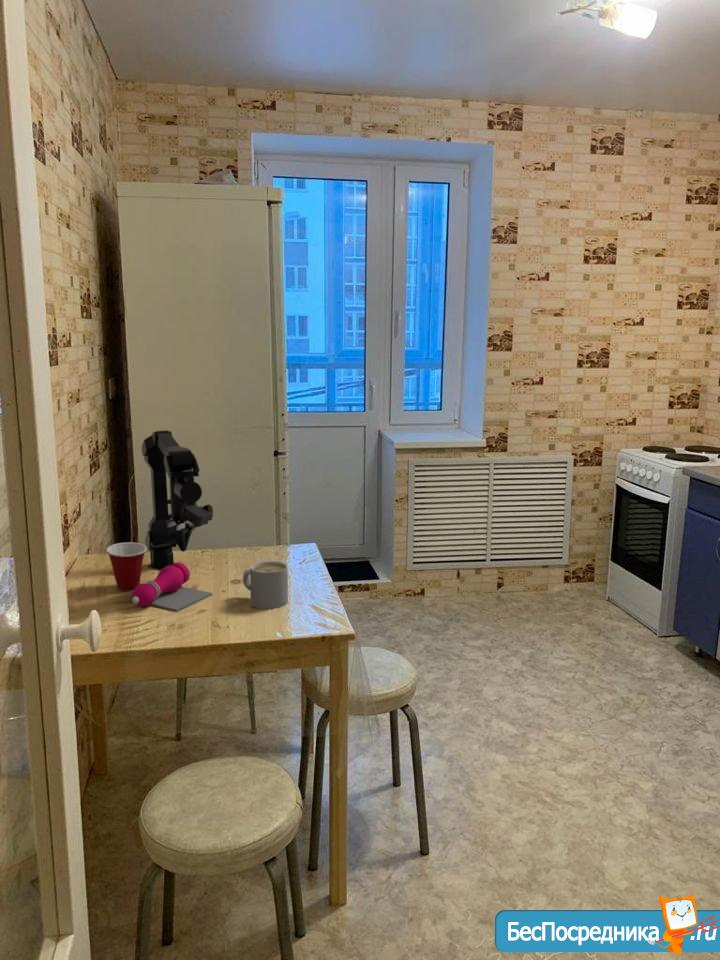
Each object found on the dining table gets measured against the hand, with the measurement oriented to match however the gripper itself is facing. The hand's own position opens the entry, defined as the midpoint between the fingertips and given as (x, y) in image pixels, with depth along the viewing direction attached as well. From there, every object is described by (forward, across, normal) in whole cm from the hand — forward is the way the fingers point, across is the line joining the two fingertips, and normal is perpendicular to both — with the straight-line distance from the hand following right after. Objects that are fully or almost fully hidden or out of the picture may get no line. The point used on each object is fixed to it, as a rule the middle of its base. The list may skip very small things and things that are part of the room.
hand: (183, 551), depth 193 cm
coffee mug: (+12, +6, -23) cm, 27 cm away
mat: (+12, -5, 0) cm, 13 cm away
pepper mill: (+8, +3, +4) cm, 9 cm away
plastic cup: (+12, -5, +16) cm, 21 cm away
